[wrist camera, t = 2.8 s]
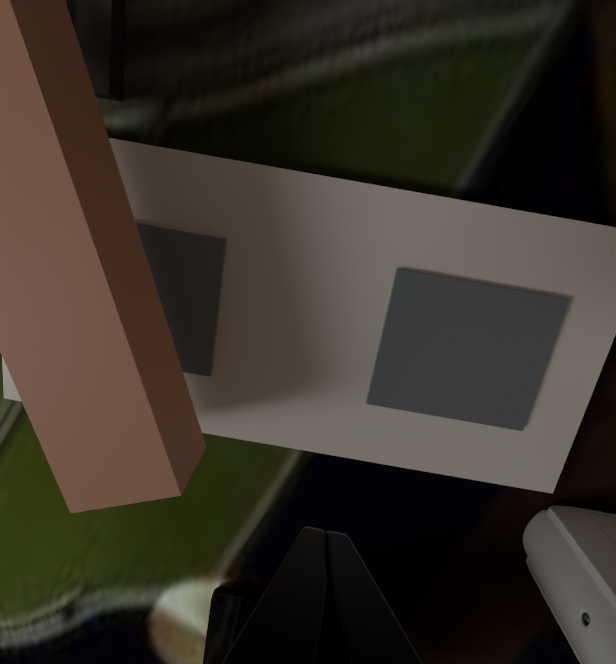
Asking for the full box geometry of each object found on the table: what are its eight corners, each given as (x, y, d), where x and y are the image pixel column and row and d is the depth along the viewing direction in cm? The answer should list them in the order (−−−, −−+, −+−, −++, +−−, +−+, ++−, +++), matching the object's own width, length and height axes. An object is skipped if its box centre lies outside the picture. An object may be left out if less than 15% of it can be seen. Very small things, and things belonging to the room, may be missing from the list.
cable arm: (206, 446, 17) (181, 495, 14) (113, 462, 17) (70, 513, 14) (24, -129, 12) (-74, -240, 9) (-100, -88, 12) (-231, -181, 9)
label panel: (542, 480, 20) (556, 497, 19) (19, 389, 20) (-1, 401, 19) (636, 232, 17) (661, 234, 16) (11, 122, 17) (-14, 115, 16)
